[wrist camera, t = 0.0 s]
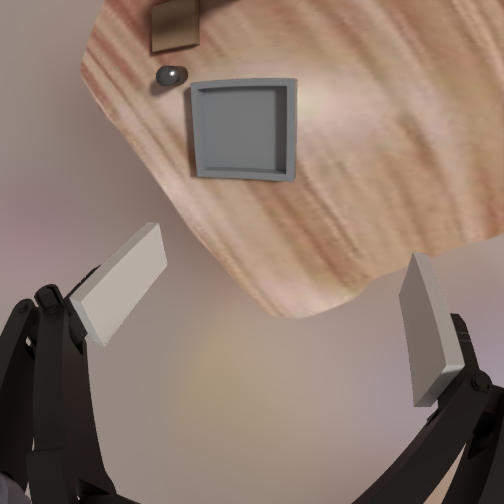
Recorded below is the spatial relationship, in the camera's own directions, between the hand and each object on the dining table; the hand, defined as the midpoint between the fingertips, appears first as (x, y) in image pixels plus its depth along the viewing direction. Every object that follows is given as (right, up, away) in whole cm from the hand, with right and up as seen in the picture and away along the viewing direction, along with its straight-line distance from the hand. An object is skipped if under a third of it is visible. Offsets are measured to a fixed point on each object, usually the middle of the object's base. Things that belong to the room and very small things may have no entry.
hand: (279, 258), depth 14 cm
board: (-12, +33, +17) cm, 39 cm away
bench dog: (-12, +26, +21) cm, 36 cm away
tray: (-2, +18, +24) cm, 30 cm away
